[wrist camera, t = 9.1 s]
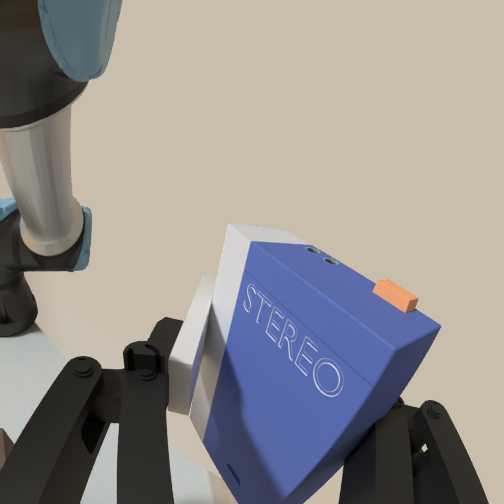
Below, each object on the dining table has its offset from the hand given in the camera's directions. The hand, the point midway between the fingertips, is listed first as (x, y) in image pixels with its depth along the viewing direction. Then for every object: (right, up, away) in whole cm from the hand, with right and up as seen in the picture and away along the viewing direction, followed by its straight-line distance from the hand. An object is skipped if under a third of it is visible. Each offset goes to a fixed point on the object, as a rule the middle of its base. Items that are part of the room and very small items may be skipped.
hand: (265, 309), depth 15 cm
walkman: (-1, -8, -3) cm, 9 cm away
